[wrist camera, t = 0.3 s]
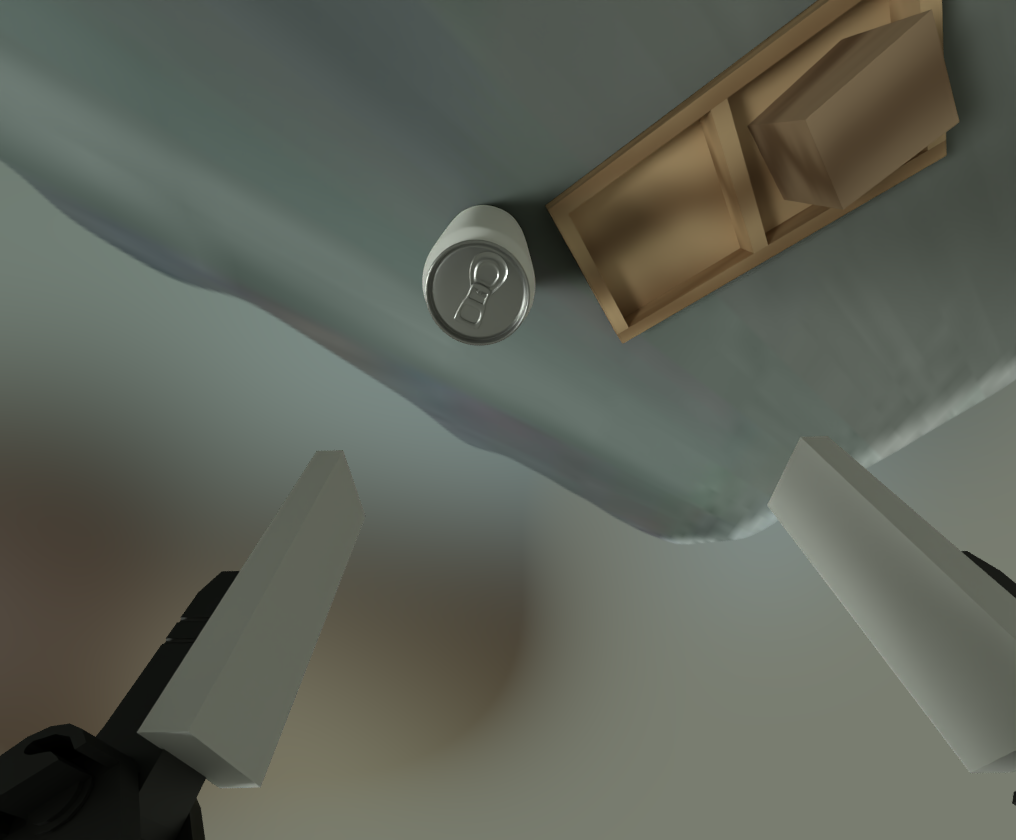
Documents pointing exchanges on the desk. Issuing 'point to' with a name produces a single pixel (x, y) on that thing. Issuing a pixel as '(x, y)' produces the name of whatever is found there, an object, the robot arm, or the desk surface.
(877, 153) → the walnut block
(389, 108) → the desk surface
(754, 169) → the caddy
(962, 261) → the desk surface
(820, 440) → the robot arm
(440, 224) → the desk surface
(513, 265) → the can
